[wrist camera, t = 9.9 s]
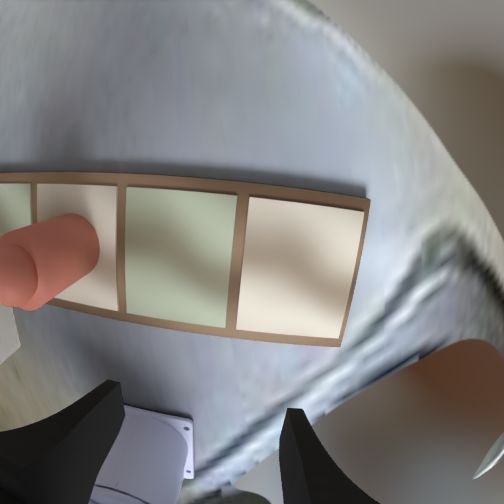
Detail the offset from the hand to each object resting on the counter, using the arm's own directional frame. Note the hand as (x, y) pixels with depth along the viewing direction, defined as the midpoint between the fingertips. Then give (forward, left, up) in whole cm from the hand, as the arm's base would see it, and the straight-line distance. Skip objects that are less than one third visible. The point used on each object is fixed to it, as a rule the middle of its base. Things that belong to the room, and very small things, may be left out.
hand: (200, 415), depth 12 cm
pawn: (+4, +11, -8) cm, 14 cm away
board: (+4, +7, -9) cm, 12 cm away
